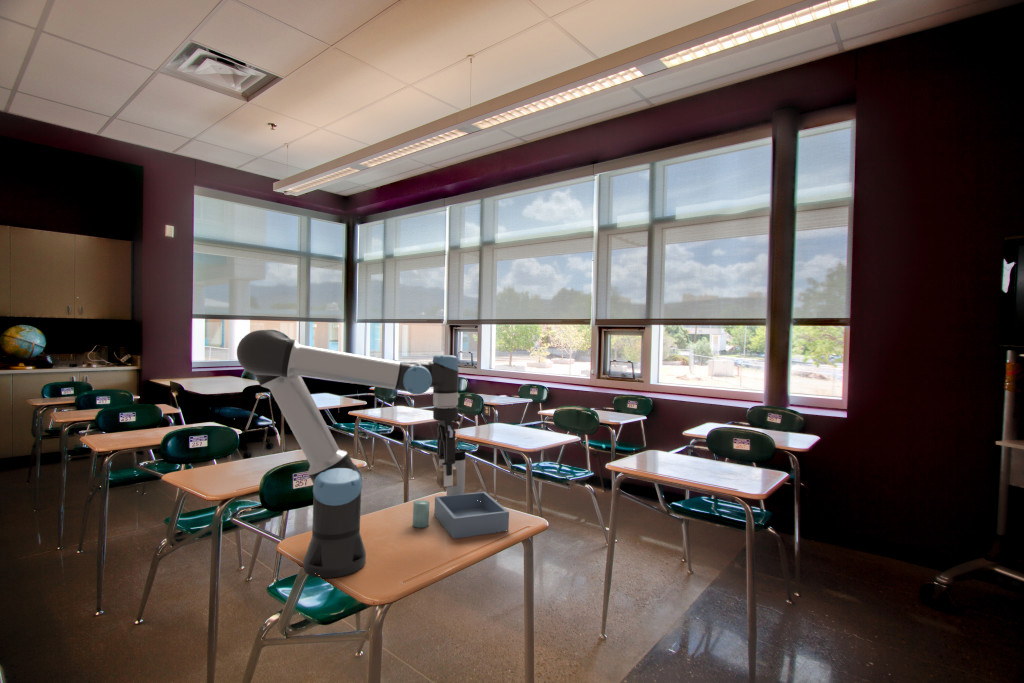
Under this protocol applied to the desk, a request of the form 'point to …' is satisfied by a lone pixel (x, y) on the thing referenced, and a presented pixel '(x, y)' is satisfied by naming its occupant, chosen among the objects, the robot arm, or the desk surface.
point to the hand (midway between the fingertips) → (445, 482)
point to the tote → (471, 514)
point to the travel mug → (458, 473)
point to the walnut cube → (441, 476)
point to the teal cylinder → (421, 513)
